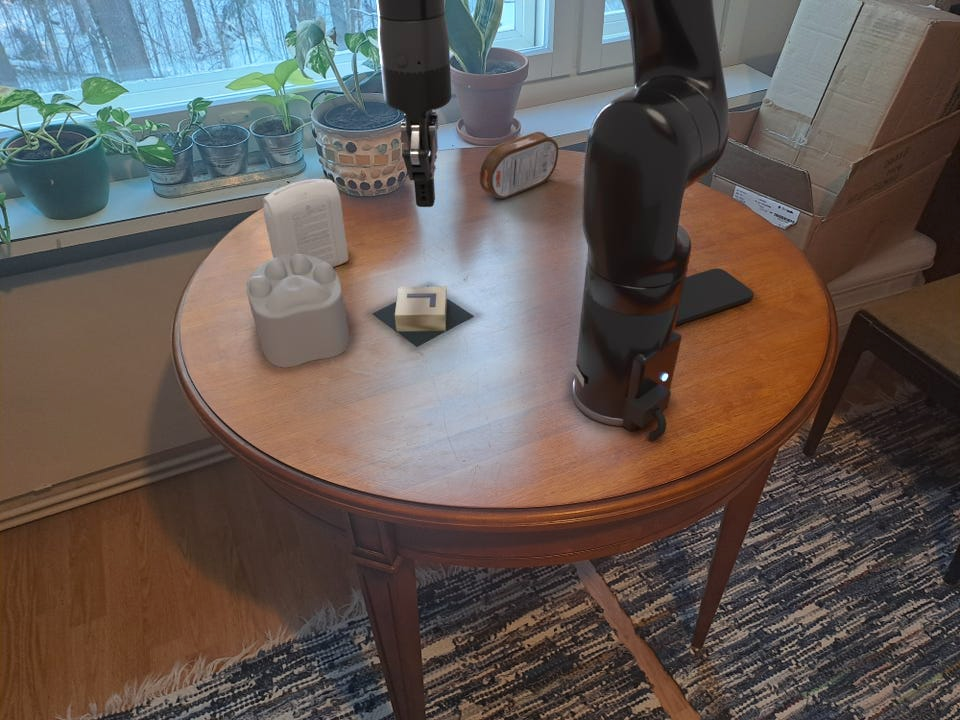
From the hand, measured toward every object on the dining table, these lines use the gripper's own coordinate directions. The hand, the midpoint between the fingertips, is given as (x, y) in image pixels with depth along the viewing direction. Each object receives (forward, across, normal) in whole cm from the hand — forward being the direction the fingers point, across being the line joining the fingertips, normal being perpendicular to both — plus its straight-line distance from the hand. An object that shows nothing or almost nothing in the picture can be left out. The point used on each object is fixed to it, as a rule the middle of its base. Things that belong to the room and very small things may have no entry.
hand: (425, 203), depth 87 cm
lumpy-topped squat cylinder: (+11, -12, +15) cm, 22 cm away
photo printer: (+11, +3, +17) cm, 20 cm away
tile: (+11, -8, 0) cm, 14 cm away
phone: (+12, -4, -34) cm, 36 cm away
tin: (+11, +27, -12) cm, 31 cm away
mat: (+11, -8, 0) cm, 14 cm away
